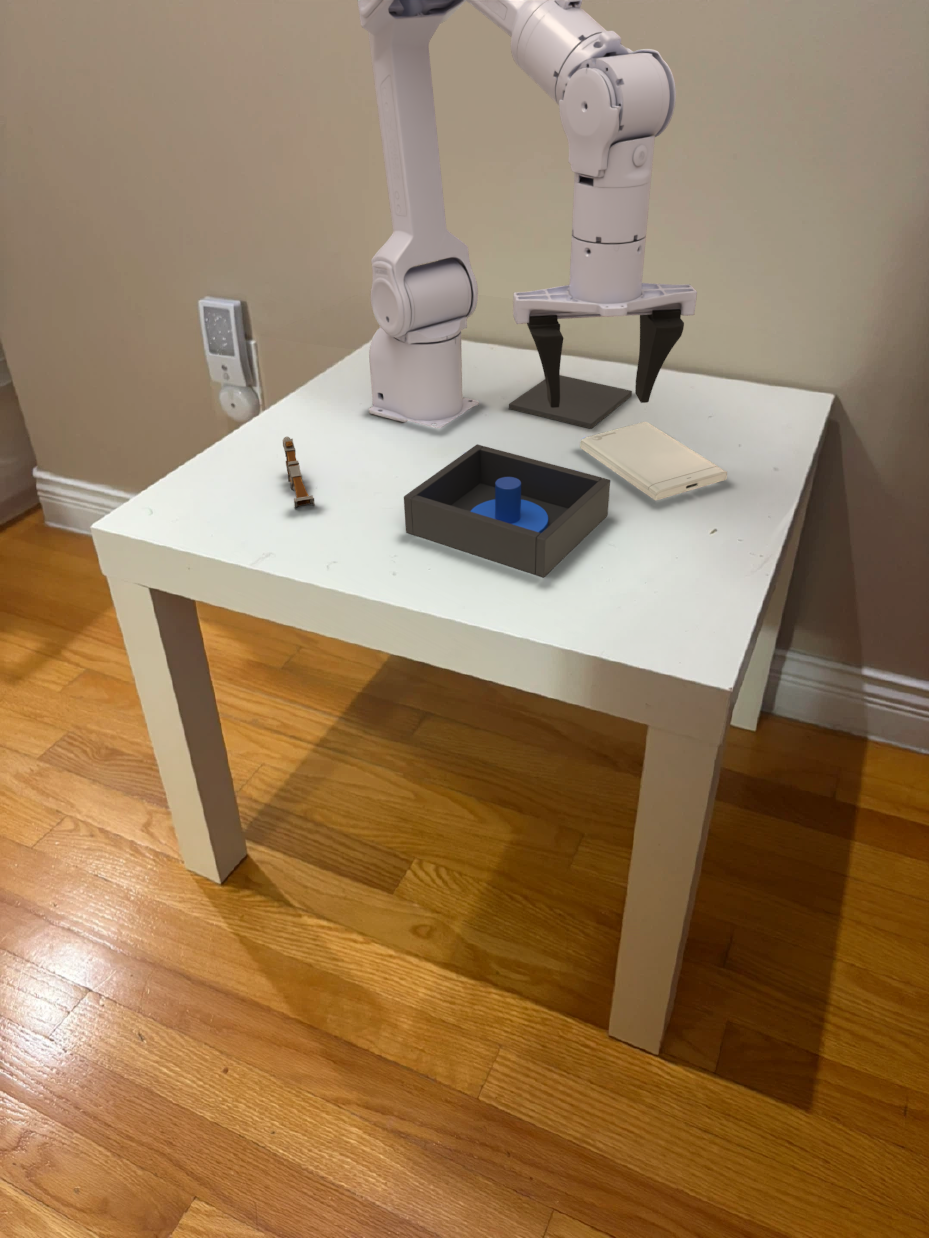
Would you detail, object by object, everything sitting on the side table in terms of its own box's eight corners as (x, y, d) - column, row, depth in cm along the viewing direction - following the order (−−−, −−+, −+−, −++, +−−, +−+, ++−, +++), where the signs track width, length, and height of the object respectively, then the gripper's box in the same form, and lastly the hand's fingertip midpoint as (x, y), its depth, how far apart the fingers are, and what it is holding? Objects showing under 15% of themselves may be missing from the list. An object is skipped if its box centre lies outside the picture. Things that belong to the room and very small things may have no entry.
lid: (452, 530, 83) (450, 489, 80) (494, 496, 87) (494, 457, 85) (522, 553, 80) (523, 510, 77) (562, 516, 84) (564, 475, 82)
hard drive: (580, 438, 95) (656, 489, 86) (647, 420, 98) (728, 468, 89) (579, 453, 96) (654, 506, 87) (646, 435, 99) (726, 484, 90)
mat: (508, 409, 105) (508, 403, 104) (552, 378, 111) (552, 373, 111) (591, 429, 100) (591, 423, 100) (631, 395, 107) (632, 390, 106)
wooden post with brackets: (297, 461, 93) (295, 430, 89) (315, 526, 89) (314, 496, 86) (278, 464, 93) (276, 432, 89) (296, 530, 89) (294, 500, 85)
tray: (405, 538, 83) (403, 496, 81) (477, 483, 91) (476, 443, 88) (543, 583, 77) (545, 540, 75) (607, 521, 85) (610, 479, 82)
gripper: (522, 253, 70) (519, 424, 78) (716, 244, 71) (694, 415, 79) (510, 228, 76) (508, 390, 84) (690, 220, 77) (671, 382, 85)
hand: (597, 400), depth 82 cm, fingers open, 7 cm apart
